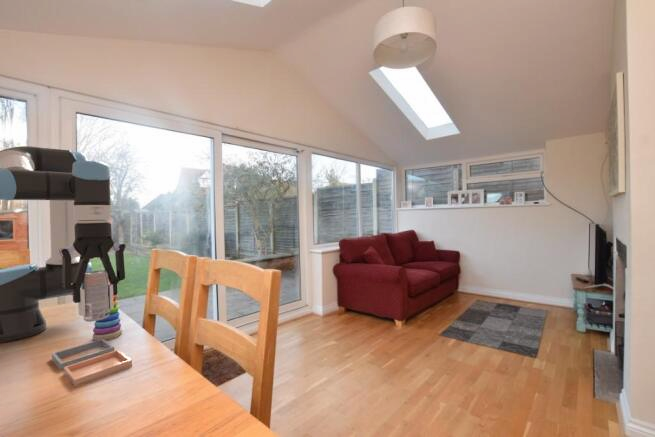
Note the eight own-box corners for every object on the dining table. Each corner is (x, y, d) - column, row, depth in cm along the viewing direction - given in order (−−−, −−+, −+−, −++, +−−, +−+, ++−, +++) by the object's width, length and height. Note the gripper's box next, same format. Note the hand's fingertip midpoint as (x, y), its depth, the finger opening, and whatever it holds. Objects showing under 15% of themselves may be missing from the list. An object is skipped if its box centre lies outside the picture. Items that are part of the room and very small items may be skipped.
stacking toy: (106, 342, 95) (104, 283, 95) (86, 340, 97) (84, 283, 97) (127, 332, 103) (126, 278, 103) (108, 331, 105) (106, 277, 104)
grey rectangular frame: (51, 359, 85) (51, 353, 85) (103, 344, 94) (102, 338, 94) (60, 370, 78) (60, 363, 78) (114, 353, 88) (114, 346, 88)
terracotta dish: (63, 374, 77) (63, 367, 77) (118, 355, 86) (118, 349, 86) (74, 387, 71) (74, 380, 71) (132, 366, 80) (131, 359, 80)
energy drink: (106, 313, 82) (104, 269, 82) (112, 317, 78) (110, 271, 78) (81, 319, 78) (79, 272, 77) (86, 323, 74) (84, 275, 74)
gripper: (48, 223, 68) (52, 325, 68) (138, 220, 82) (141, 304, 83) (41, 223, 72) (45, 318, 73) (128, 220, 87) (130, 300, 88)
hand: (96, 311), depth 78 cm, fingers closed on energy drink, 5 cm apart
